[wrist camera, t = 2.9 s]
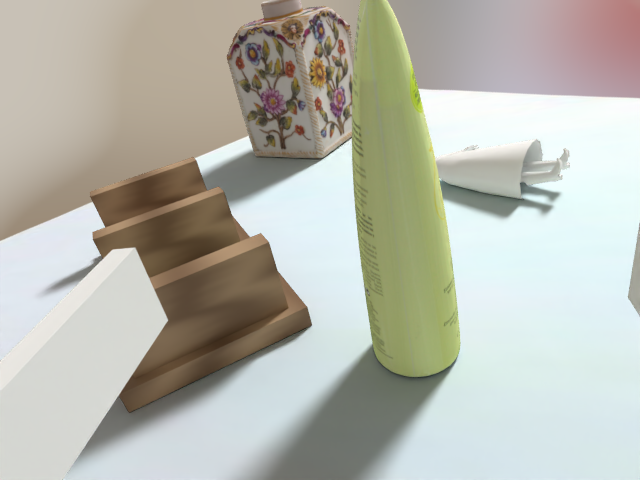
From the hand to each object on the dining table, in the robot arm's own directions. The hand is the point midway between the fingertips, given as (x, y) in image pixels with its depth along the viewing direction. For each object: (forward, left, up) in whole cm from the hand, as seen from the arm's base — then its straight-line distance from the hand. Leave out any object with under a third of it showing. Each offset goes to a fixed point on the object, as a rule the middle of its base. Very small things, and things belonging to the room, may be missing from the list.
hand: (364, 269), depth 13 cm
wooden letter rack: (+4, -26, -12) cm, 29 cm away
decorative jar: (-18, -49, -13) cm, 54 cm away
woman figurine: (-22, -23, -13) cm, 35 cm away
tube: (-6, -8, -13) cm, 16 cm away
